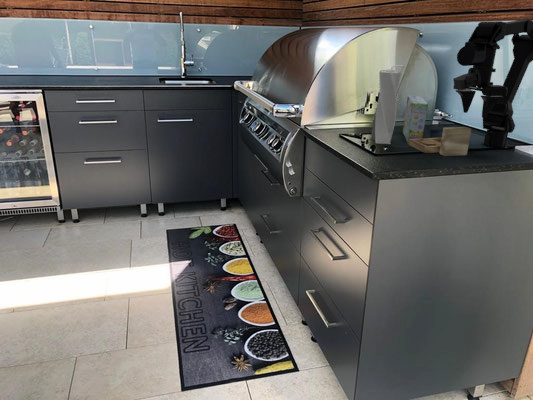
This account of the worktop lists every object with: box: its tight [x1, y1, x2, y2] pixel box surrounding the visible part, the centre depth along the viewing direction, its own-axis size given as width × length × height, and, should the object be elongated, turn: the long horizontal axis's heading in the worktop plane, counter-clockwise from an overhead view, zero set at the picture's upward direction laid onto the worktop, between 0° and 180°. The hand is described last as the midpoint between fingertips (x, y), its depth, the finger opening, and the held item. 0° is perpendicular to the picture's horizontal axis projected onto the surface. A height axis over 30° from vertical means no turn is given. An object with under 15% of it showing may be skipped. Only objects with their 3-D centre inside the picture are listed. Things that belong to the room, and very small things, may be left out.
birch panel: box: [438, 126, 472, 157], centre depth 140 cm, size 3×8×9 cm, turn 102°
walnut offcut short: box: [418, 140, 434, 146], centre depth 148 cm, size 3×5×1 cm, turn 18°
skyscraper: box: [370, 64, 405, 145], centre depth 153 cm, size 8×8×28 cm
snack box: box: [402, 95, 429, 143], centre depth 163 cm, size 21×6×15 cm, turn 168°
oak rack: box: [407, 137, 442, 154], centre depth 150 cm, size 13×11×3 cm
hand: (474, 115), depth 141 cm, fingers open, 9 cm apart
